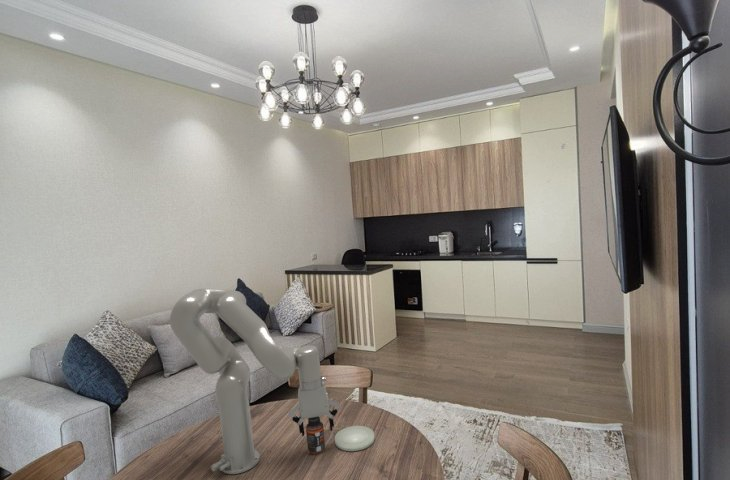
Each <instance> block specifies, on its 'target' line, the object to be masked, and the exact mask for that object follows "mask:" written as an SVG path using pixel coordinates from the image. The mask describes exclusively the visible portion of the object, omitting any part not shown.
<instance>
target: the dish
mask: <svg viewBox="0 0 730 480" xmlns="http://www.w3.org/2000/svg"><path fill="white" fill-rule="evenodd" d="M374 441H375V432H374V430H372V429H371V428H370V427H367V426H364V425H351V426H347V427H345V428H343V429H341V430H339V431H338V432H337V433H336V434H335V436H334V443H335V446H336V448H338V449H340V450H342V451H345V452H359V451H362V450H365V449H367V448H369V447H370V446H372V444H374Z"/></svg>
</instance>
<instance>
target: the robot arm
mask: <svg viewBox="0 0 730 480" xmlns="http://www.w3.org/2000/svg"><path fill="white" fill-rule="evenodd" d="M204 314H216V315H218V317H219V318H220V319H221V320H222V321H223V322H224V323H225V324H226V325H227V326H228V327H229V328H230V329H232V330H233V332H234V333H236V334H237V335H238V337H240V338H241V339H242V340H243V341H244V342H245V344H246V345H247V347H248V349H249V350H250V351H251V353H252V354H253V356H254V357H255V358H256V360H257V361H258V362H259V363H260V364H261V366H263V367H264V368H265V370H266V371H268V372H269V373H270V374H271V375H272V376H273V377H275V378H277V379H278V380H282V381H283V380H284V381H286V380H288V379H291V378H292V377H293V376H294V374H295V372H296V370H297V372H298V373H297V374H298V380H299V387H298V389H297V395H298V396H297V397H298V398H297V400H298V405H297V406H295V407H294V408H293V409H291V410H289V412H288V415H289V417H290V418H291V420H292V421H293V422H295V424H297V426H298V428H299V433H300V434H301V436H302V437H304V436H305V425H304V420H305V419H307V420H308V418H313V417H318V416H319V417H322V416H327V417H328V422H329V428H330V429H329V431H333V430H334V429H333V428H334V427H335V423H334V418H335V416H336V415H337V413H338V411H339V408H340V407H341V405H340V402H339V401H334V400H331V399H329V396H328V391H327V387H326V384H325V382H327V377H326V376H322V370H321V363H320V354H319V350H318V348H317V346H315V345H312V344H311V345H303V346H300V347H282V348H280V347H279V346H278V345H277V343H276V342H275V341H274V339H273V338H272V337H271V334H270V331H269V329H268V327H267V324H266V323H265V321H264V320H263V319H262V318H260V316H258V315H257V314H256V313H255V312H254V311H253V310H252V309H251V308H250V307H249V306H248V305H247V299H246V296H245V295H244V294H243V293H242V292H241V291H238V290H234V289H233V290H232V289H214V288H213V289H212V288H197V289H194V290H191V291H190V292H188V293H186V294H185V295H183V296H182V297H180V298H179V299H178V301H176V303H175V304H174V306H173V307H172V309H171V313H170V317H169V323H170V328H171V331H172V332H173V334H174V335H175V336H176V338H177V339H178V341H180V343H181V344H182V345H183V346H184V348H185V349H186V351H187V352H188V353H189V355H190V356H191V357H192V359H193V360H194V362H195V363H196V364H197V365H198V367H199V369H200V370H202V371H203V372H204V373H206V374H208V375H213V374H217V373H219V377H218V379H217V381H216V383H215V389H214V390H215V398H216V402H217V407H218V411H219V412H218V413H219V422H220V427H221V428H220V430H221V437H222V439H221V440H222V446H223V447H222V448H223V453H222V454H220V455H221V456H220V457H221V458H219V459H218V461H217V462H215V463H214V464H211V465H210V468H211V469H210V470H211V472H215V471H217V470H218V469H219V471H220V472H222V473H224V474H226V475H227V474H228V475H237V474H241V473H242V474H243V473H244V472H247V471H250V470H251V469H252V468H254V467H255V466H256V465H257V464H258V463H259V461H260V459H261V455H260V452H259V451H258V450H257V449H255V444H254V435H253V426H252V417H251V408H250V402H249V401H250V400H249V397H248V396H249V395H248V385H249V381H250V379H251V369H250V367H249V364H248V363H247V361H246V360H245V359H244V358H243V356H242V355H241V354H240V352H239V351H238V350H237V348H236V347H235V346H234V345H233V343H232V342H231V341H230V340H229V339H227V338H226V337H223V336H215V337H214V336H213V335H212V333H211V332H210V330H209V329H208V328H207V327H206V326H205V325H204V324H203V323H202V322H201V320H200V318H201V317H202V316H203V315H204ZM330 406H332V407H334V408H333V409H332V410H331V409H330ZM297 412H299V413H298V414H299V416H297V415H295V414H296V413H297Z"/></svg>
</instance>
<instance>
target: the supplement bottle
mask: <svg viewBox="0 0 730 480" xmlns="http://www.w3.org/2000/svg"><path fill="white" fill-rule="evenodd" d="M320 417H321V416H318V417H313V418H307V424H306V427H305V430H306V432H305V433H306V443H307V445H306V446H307V451H308V453H309V454H312V455H319V454H322V453H323V452H324V451H325V450H326V443H325V442H326V441H325V428H324V424H323V422H322V421H321V418H320Z"/></svg>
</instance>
